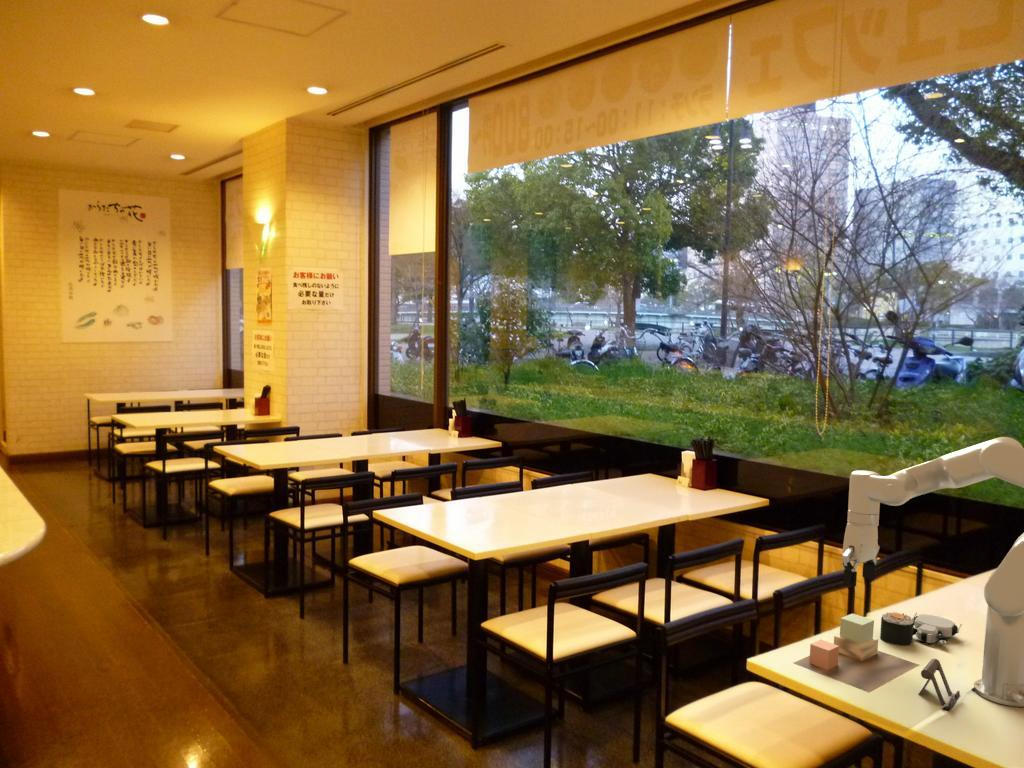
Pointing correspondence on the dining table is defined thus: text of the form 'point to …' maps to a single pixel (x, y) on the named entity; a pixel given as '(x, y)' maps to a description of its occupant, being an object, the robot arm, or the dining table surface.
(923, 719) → the dining table surface
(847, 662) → the walnut board
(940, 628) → the robot toy
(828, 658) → the terracotta block
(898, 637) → the sushi
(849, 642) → the birch base block
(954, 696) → the portable electronic device stand
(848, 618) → the green block
